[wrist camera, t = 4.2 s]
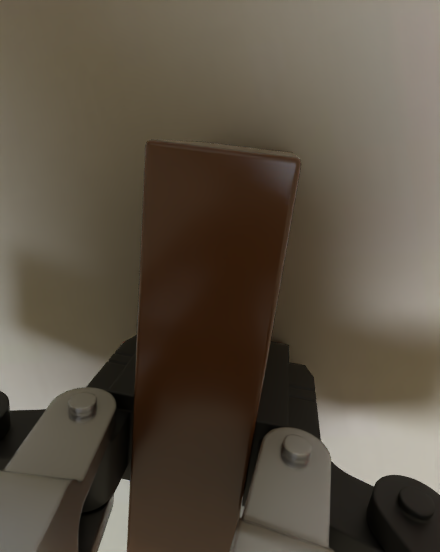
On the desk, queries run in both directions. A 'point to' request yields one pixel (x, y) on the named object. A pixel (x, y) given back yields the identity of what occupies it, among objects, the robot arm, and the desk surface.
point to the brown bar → (203, 335)
